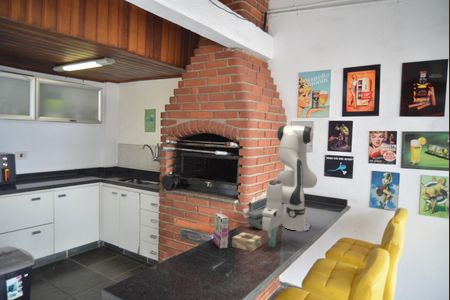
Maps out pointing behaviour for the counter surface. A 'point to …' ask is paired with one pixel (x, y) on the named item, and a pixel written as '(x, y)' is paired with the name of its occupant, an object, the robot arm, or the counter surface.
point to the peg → (272, 238)
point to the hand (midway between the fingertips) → (272, 235)
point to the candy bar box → (221, 230)
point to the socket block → (246, 241)
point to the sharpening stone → (255, 218)
